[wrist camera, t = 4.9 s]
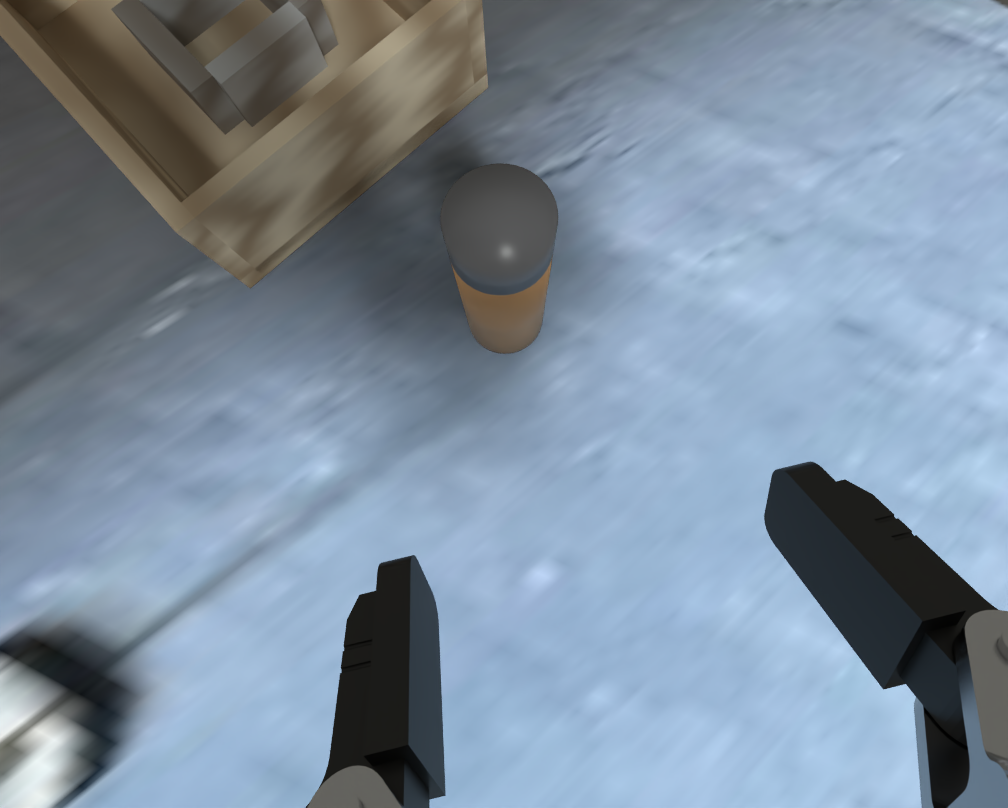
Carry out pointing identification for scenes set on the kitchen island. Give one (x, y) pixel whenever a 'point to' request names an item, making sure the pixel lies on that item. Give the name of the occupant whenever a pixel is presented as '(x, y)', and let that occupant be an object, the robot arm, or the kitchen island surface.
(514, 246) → the grey and orange cylinder
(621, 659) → the kitchen island surface
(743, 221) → the kitchen island surface
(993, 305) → the kitchen island surface
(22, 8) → the walled box
